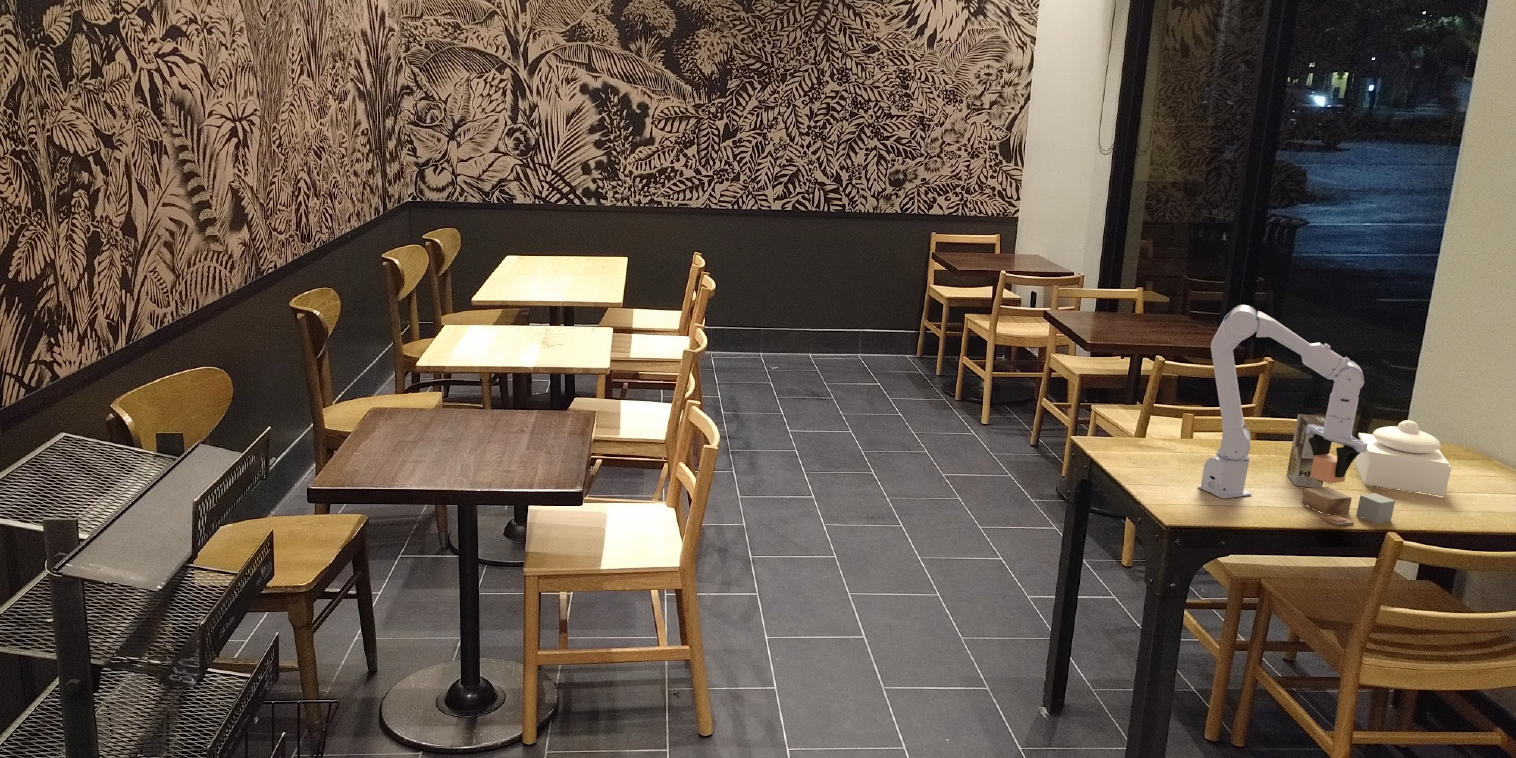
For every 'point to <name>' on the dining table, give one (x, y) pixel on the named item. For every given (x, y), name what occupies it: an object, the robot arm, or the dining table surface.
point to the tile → (1336, 520)
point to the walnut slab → (1326, 500)
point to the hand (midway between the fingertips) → (1328, 472)
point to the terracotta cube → (1325, 468)
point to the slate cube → (1375, 508)
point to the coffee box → (1304, 452)
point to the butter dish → (1403, 460)
